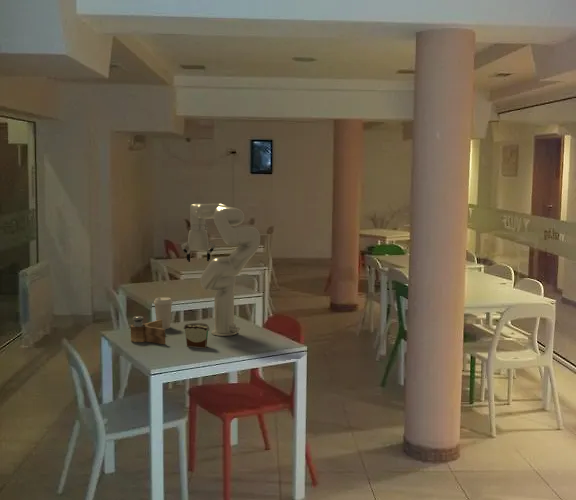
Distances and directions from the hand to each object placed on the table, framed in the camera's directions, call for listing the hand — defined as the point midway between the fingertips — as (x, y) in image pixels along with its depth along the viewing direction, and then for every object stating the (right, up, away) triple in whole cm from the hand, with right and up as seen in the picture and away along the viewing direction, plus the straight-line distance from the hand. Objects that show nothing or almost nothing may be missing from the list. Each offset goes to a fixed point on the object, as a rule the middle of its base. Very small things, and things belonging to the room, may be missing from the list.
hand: (198, 261), depth 369 cm
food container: (+5, -38, -39) cm, 55 cm away
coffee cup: (-18, -34, -2) cm, 38 cm away
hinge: (-16, -36, -26) cm, 48 cm away
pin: (-25, -37, -28) cm, 52 cm away
